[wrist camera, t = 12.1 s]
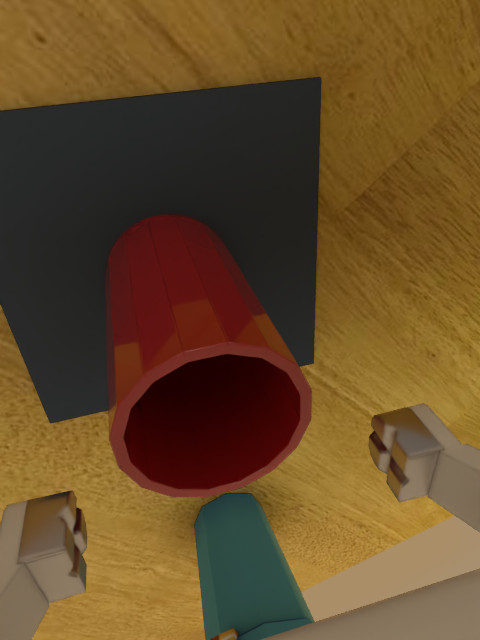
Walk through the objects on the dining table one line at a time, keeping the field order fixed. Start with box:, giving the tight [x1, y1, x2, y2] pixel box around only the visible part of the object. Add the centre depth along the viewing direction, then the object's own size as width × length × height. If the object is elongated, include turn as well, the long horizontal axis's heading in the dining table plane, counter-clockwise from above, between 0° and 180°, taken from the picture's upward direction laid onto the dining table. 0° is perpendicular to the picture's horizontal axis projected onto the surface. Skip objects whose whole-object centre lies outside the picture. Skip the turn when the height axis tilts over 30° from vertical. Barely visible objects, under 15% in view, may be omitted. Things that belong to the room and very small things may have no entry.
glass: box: [105, 214, 312, 497], centre depth 18 cm, size 6×6×11 cm
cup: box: [194, 494, 314, 640], centre depth 29 cm, size 14×8×15 cm, turn 48°
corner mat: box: [0, 77, 321, 423], centre depth 23 cm, size 16×16×1 cm
